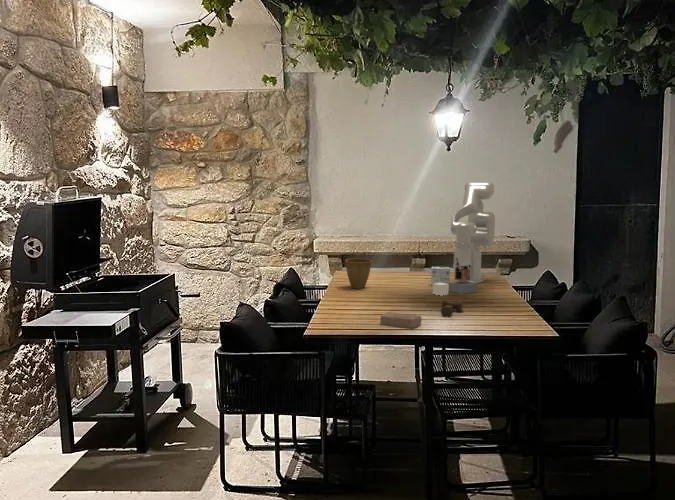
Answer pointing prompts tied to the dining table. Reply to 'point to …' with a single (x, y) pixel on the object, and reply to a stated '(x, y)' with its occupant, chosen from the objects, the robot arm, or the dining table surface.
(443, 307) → the kendama
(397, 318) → the brick
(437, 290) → the off-white cube
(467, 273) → the walnut cube
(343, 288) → the dining table surface
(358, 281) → the plant pot
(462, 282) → the base block
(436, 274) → the light bulb box
